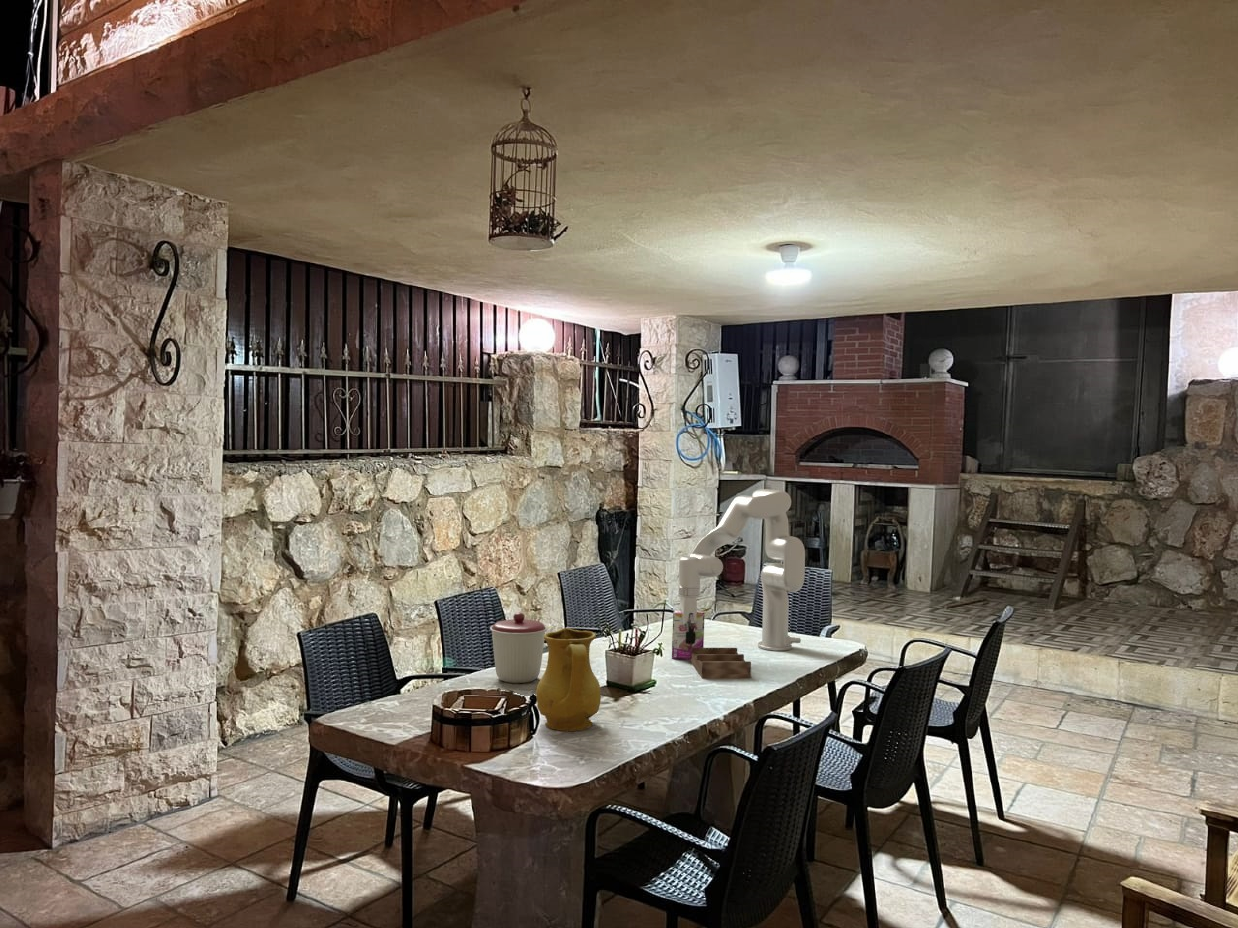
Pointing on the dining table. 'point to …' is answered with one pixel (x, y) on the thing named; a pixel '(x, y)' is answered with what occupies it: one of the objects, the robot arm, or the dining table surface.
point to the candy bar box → (679, 636)
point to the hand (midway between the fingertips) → (688, 640)
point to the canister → (518, 648)
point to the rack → (720, 663)
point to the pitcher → (568, 682)
